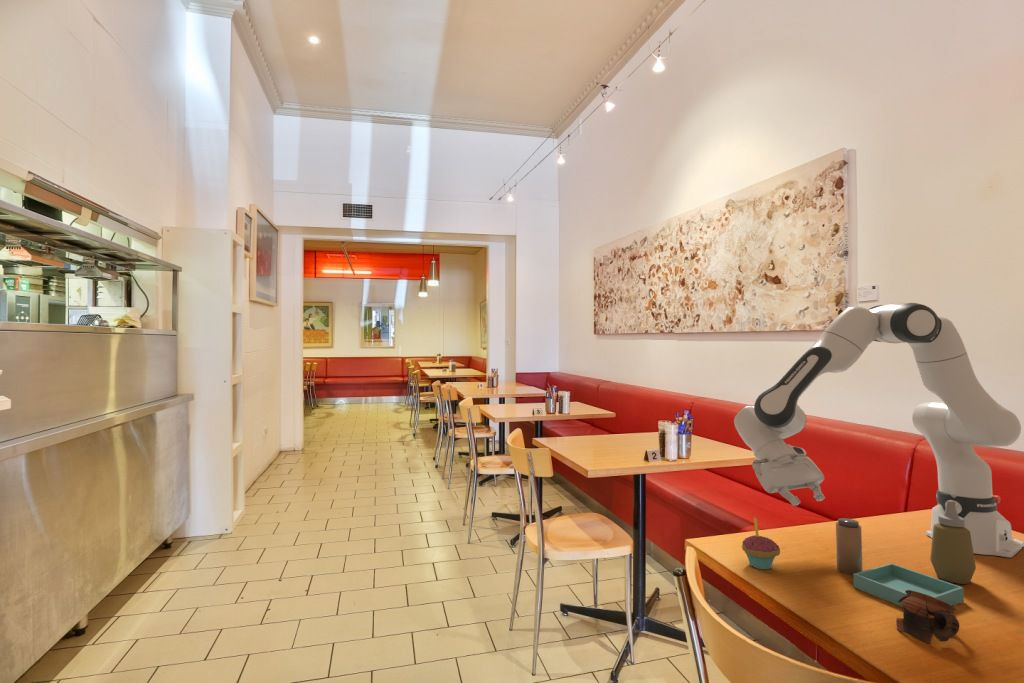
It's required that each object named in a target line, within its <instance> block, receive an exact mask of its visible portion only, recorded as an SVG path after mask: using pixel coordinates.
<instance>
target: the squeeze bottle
mask: <svg viewBox="0 0 1024 683" xmlns="http://www.w3.org/2000/svg"><path fill="white" fill-rule="evenodd" d="M938 522H939V523H937V524H935V525H934V527H933V537H932V538H931V539H932V540H931V548H930V562H931V565H932V568H933V569H934V573H935V575H936V576H937V577H938V579H939V578H940V580H942V581H945V582H948V583H952V584H953V583H955V584H960V585H961V584H962V585H966V584H970V583H971V580H972V578H973V576H974V573H975V572H976V569H977V566H976V560H975V553H973V546H972V540H971V534H970V531H969V530H968V529H967V528H965V527H964V526H965V523H964V519H963V518H962V517H959V516H958V514H957V510H956V507H955V504H954V502H953V501H947V505H946V508H945V512H944V514H940V515H938Z"/></svg>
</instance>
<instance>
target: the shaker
mask: <svg viewBox="0 0 1024 683" xmlns="http://www.w3.org/2000/svg"><path fill="white" fill-rule="evenodd" d="M859 522H860V521H858V520H856V519H852V518H847V517H844V518H842V517H841V518H838V519H837V521H836V522H835V544H836V545H835V546H836V569H837V571H838V572H840V573H843V574H846V575H850V576H853V574H854V573H858V572H861V571H864V570H863V545H862V544H863V543H862V541H863V538H862V537H863V536H862V526H861V525H860V523H859Z"/></svg>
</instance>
